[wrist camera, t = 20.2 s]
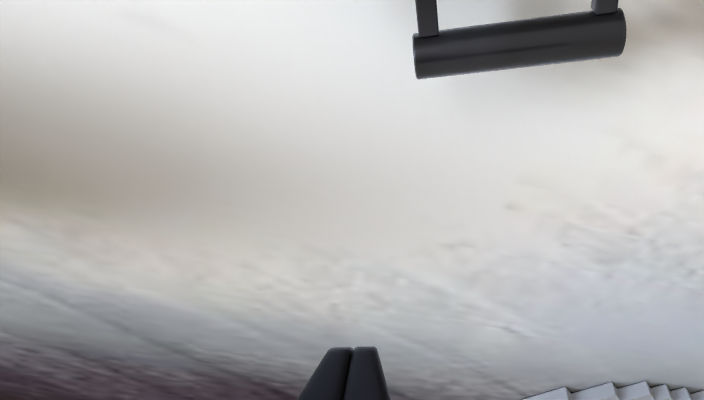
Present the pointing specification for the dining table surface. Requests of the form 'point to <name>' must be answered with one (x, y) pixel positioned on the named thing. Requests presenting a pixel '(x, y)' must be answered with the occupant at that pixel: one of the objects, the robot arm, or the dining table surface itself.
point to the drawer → (516, 41)
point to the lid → (621, 393)
